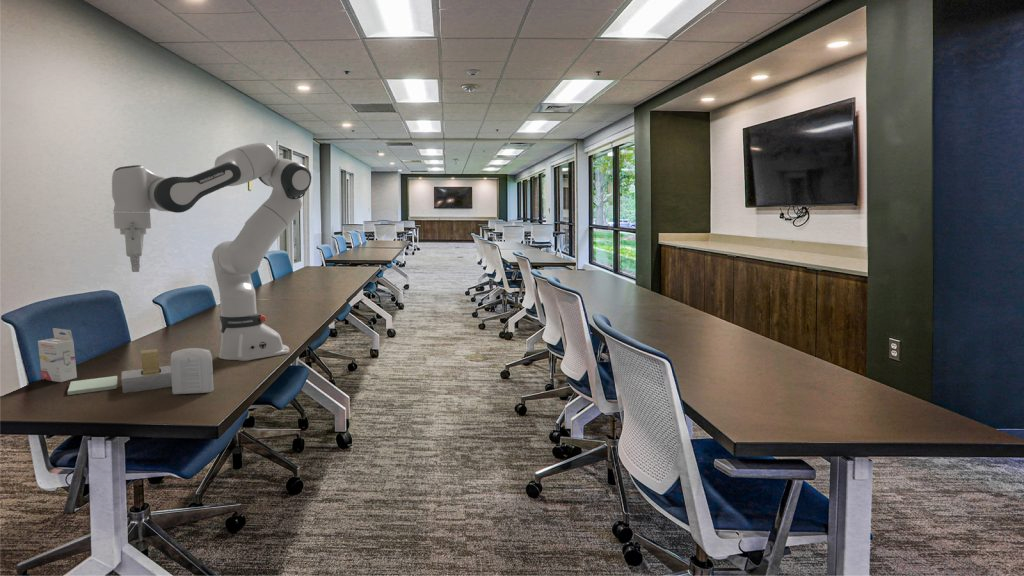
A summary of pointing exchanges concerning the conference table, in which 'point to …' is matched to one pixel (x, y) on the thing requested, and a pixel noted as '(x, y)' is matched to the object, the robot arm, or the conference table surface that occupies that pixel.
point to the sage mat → (92, 385)
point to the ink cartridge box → (58, 357)
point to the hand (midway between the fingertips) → (135, 270)
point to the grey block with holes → (146, 380)
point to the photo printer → (191, 371)
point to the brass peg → (150, 361)
